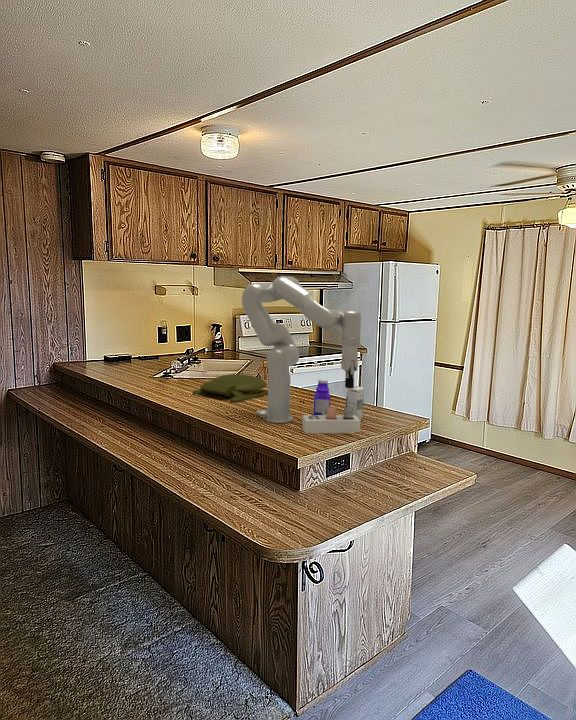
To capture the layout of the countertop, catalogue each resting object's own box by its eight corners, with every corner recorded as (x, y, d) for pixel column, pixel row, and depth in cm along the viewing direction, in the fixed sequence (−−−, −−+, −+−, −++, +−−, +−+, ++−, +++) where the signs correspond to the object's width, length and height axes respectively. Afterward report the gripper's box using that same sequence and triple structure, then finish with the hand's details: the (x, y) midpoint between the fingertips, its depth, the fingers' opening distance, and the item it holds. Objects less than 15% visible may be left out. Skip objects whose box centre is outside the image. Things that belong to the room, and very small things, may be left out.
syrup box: (351, 417, 237) (353, 385, 235) (363, 420, 234) (364, 387, 231) (344, 420, 233) (345, 387, 231) (356, 422, 229) (357, 389, 227)
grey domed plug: (344, 422, 214) (345, 409, 214) (342, 420, 218) (343, 407, 217) (353, 422, 215) (354, 409, 214) (351, 420, 218) (352, 407, 218)
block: (305, 433, 211) (305, 420, 210) (302, 427, 220) (302, 415, 219) (359, 433, 213) (360, 420, 212) (355, 427, 222) (355, 415, 221)
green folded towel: (235, 404, 259) (235, 384, 258) (190, 395, 277) (190, 376, 275) (278, 393, 287) (278, 375, 286) (234, 385, 305) (235, 368, 304)
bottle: (328, 417, 237) (330, 378, 234) (330, 420, 231) (331, 380, 229) (312, 417, 237) (313, 378, 234) (313, 420, 231) (314, 380, 228)
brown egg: (327, 422, 214) (327, 409, 213) (325, 420, 217) (326, 407, 216) (336, 422, 214) (336, 409, 213) (334, 420, 218) (335, 407, 217)
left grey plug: (309, 430, 214) (310, 417, 213) (308, 428, 217) (308, 415, 216) (318, 430, 214) (319, 417, 213) (317, 428, 217) (317, 415, 217)
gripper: (337, 340, 219) (336, 384, 221) (344, 344, 204) (343, 391, 206) (356, 340, 219) (354, 384, 222) (364, 344, 205) (362, 391, 207)
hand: (349, 387), depth 214 cm, fingers closed
